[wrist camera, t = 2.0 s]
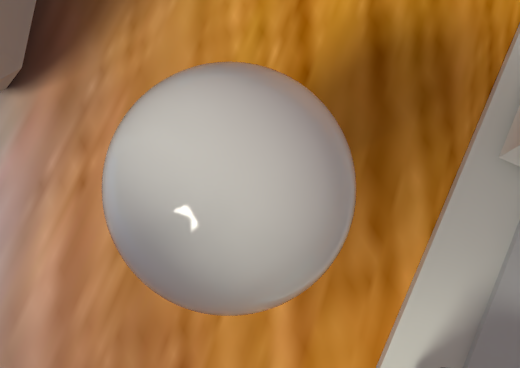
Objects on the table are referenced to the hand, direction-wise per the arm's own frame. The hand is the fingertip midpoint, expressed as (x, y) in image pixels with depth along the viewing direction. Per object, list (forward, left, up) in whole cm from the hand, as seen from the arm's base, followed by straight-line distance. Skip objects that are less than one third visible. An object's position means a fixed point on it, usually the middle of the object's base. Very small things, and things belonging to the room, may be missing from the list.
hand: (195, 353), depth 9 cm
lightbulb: (+3, -1, -11) cm, 11 cm away
